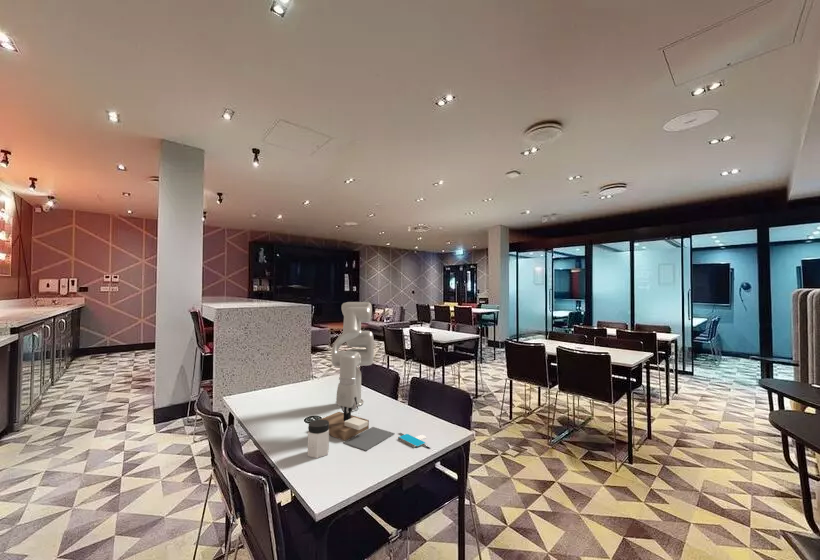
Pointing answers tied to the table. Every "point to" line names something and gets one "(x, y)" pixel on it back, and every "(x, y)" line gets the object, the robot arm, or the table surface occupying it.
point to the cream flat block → (356, 423)
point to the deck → (342, 426)
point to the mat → (368, 438)
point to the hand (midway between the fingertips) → (347, 420)
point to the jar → (318, 438)
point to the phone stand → (412, 440)
